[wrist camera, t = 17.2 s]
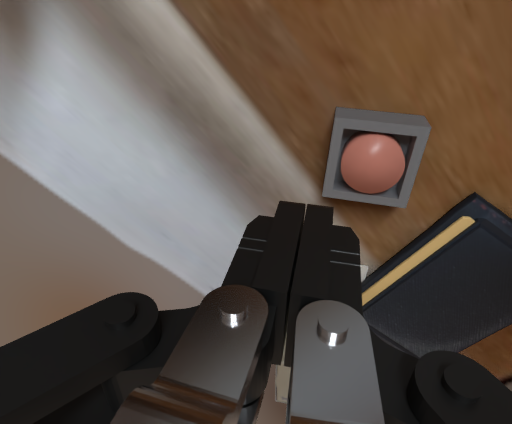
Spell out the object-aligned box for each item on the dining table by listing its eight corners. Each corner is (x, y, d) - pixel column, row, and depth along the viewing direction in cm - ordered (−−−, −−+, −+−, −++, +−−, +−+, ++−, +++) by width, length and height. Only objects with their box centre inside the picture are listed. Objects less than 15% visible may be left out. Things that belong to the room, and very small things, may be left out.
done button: (408, 131, 29) (412, 141, 27) (393, 184, 32) (396, 197, 30) (346, 124, 30) (346, 133, 28) (337, 177, 33) (336, 189, 31)
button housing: (424, 115, 29) (431, 127, 27) (401, 191, 33) (405, 208, 31) (336, 106, 30) (334, 117, 28) (323, 181, 34) (322, 196, 32)
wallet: (425, 379, 43) (327, 314, 40) (422, 365, 44) (327, 302, 42) (603, 293, 32) (486, 198, 29) (591, 279, 34) (478, 187, 31)
